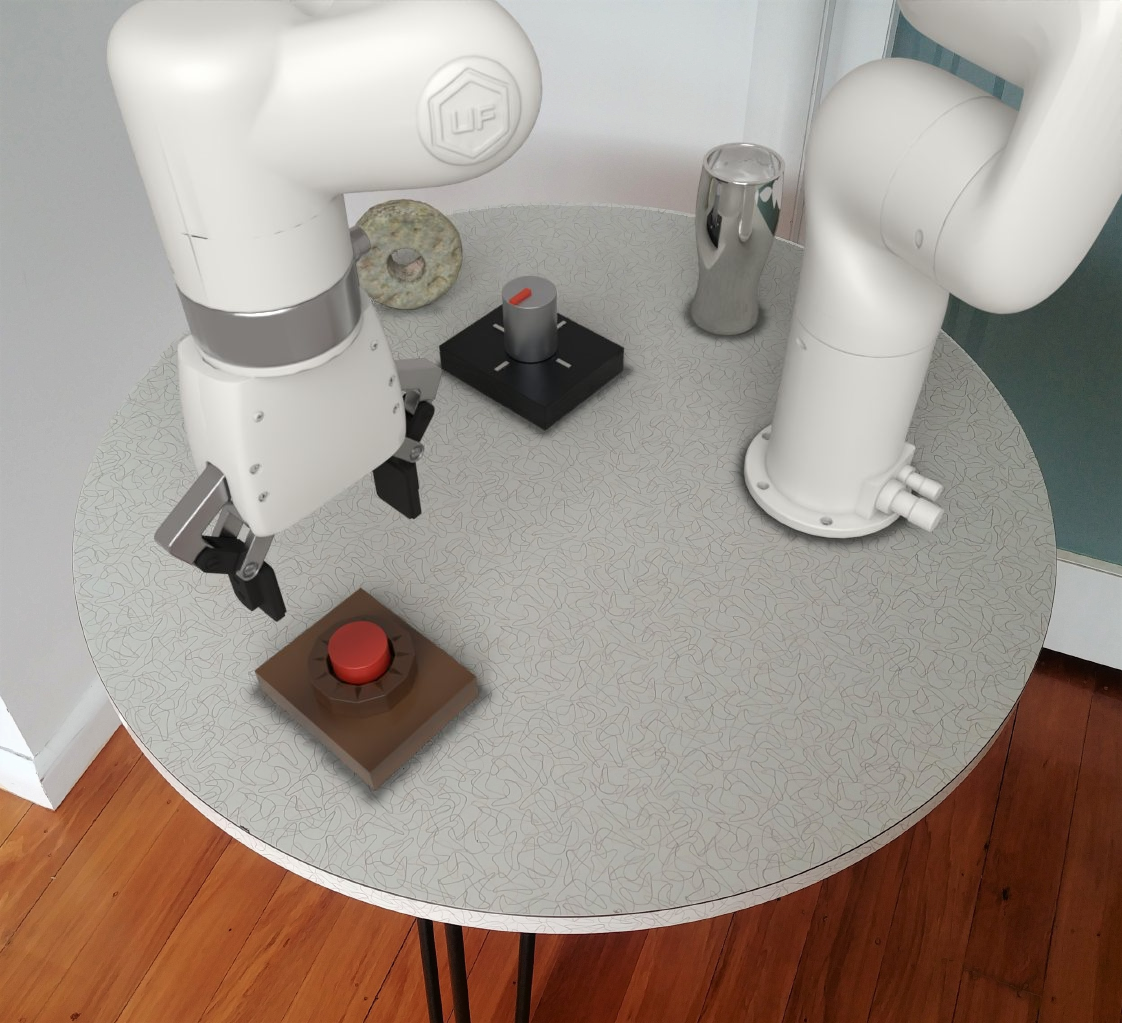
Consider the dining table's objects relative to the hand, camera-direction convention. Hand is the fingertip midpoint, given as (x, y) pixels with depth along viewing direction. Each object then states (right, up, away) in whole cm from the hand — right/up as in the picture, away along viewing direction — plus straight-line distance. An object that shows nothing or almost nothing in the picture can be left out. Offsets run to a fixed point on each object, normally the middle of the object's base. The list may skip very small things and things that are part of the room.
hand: (334, 553), depth 59 cm
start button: (0, -7, +7) cm, 10 cm away
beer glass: (+27, +20, +37) cm, 50 cm away
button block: (0, -9, +10) cm, 14 cm away
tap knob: (+10, +16, +30) cm, 36 cm away
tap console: (+10, +14, +32) cm, 36 cm away
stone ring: (-1, +22, +39) cm, 44 cm away
